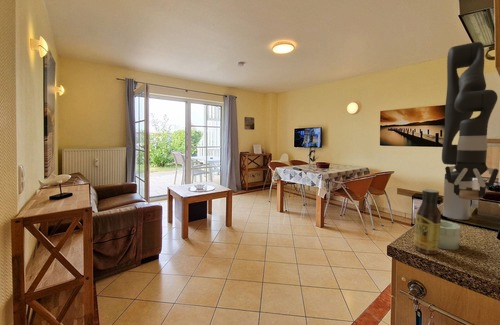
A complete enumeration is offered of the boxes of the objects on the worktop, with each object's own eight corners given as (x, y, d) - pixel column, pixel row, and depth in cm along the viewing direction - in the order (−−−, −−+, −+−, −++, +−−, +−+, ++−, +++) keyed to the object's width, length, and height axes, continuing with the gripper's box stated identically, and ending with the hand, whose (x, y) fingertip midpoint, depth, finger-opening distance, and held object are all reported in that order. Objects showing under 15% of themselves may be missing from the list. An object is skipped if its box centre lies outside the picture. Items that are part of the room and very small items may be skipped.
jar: (426, 236, 85) (427, 217, 84) (459, 243, 79) (460, 223, 78) (422, 244, 79) (423, 224, 78) (458, 252, 72) (459, 231, 72)
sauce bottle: (409, 246, 77) (411, 188, 75) (428, 246, 77) (431, 188, 75) (423, 256, 70) (426, 192, 69) (444, 256, 70) (448, 192, 69)
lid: (458, 195, 86) (459, 185, 86) (479, 197, 82) (479, 187, 82) (457, 198, 82) (458, 188, 82) (479, 200, 79) (480, 190, 78)
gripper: (500, 148, 79) (497, 197, 80) (445, 148, 89) (443, 191, 90) (502, 149, 73) (498, 201, 75) (444, 149, 83) (441, 195, 85)
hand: (468, 195), depth 82 cm, fingers closed on lid, 5 cm apart
